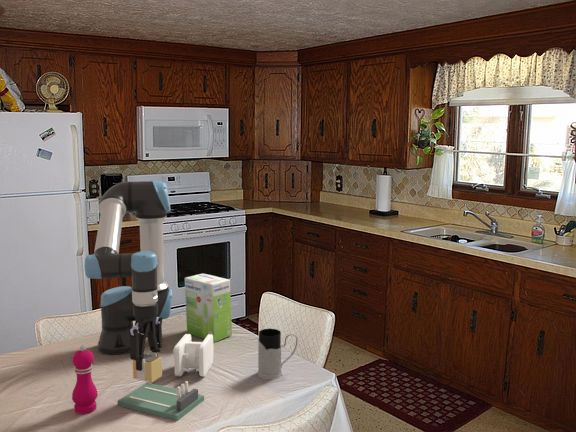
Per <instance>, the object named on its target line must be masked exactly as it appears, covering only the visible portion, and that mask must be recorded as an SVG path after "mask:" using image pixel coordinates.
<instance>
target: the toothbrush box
mask: <svg viewBox="0 0 576 432" xmlns="http://www.w3.org/2000/svg"><path fill="white" fill-rule="evenodd" d="M184 290H185V291H184V293H185V294H184V295H185V311H186V312H185V314H186V315H185V316H186V334H191V336H196V337H197V338H201V339H205V338H206V337H207V335H208V334H212V335H213V343H216V342H218V341H220V340H223V339H226V338H229V337H231V336H233V332H232V331H233V328H232V301H231V297H232V296H231V295H232V294H231V293H232V292H231V279H228V278H224V277H219V276H216V275H212V274H207V273H199V274H195V275H191V276H186V277H184Z"/></svg>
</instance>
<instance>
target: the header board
mask: <svg viewBox="0 0 576 432" xmlns="http://www.w3.org/2000/svg"><path fill="white" fill-rule="evenodd" d="M203 401H205V395H203V394H199V389H197V388H192V389H191V390H190V391H189V381H188V380H186V381H184V383H181V384H180V386H176V388H173V387H169V386H163V385H160V384H155V383H152V382H146V383H144V384H142V385H141V386H139V387H137V388H135V389H134V390H132V391H131V392H130V393H128V394H126V395H124V396H123V397H121V398H120V399H118V400H117V407H118V406H119V407H122V408H128V409H131V410H134V411H138V412H142V413H146V414H150V415H154V416H157V417H161V418H165V419H170V420H174V421H177V422H178V421H179V420H180V419H182V418H183V417H184V416H186V415H187V414H188V413H189V412H191V411H193V409H195V408H196V407H197V406H199V405H200V404H201V403H202V402H203Z"/></svg>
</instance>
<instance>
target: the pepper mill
mask: <svg viewBox="0 0 576 432" xmlns="http://www.w3.org/2000/svg"><path fill="white" fill-rule="evenodd" d="M86 347H87V346H86V345H80V346H79V350H78V351H76V352H75V353H74V354H73V355H72V358H71V360H72V364H73V365H74V373H75V374H76V383H75V385H74V388H73V390H72V394H71V399H72V402H73V403H74V405H73V409H74V413H76V414H78V415H87V414H90V413H92V412H94V411H96V410H97V401H96V400H97V398H98V389H97V387H96V385H95V383H94V382H93V379H92V372H93V371H94V370H93V369H94V368H93V363H94V360H95V358H94V357H95V356H94V353H93V352H92V351H91V350H89V349H86Z"/></svg>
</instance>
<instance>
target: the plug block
mask: <svg viewBox="0 0 576 432" xmlns="http://www.w3.org/2000/svg"><path fill="white" fill-rule="evenodd" d="M143 359H145V369H146V380H145V381H144V382H148V383H153V382H155V381H157V380H158V379H159V378H161V377H163V367H162V365H163V363H162V362H163V361H162V356H161V357H160V356H158V357H157V356H152V355H149V354H146V353H144V357H143ZM132 375H133V379H134V380H135V379H136V380H138V379H137V370H136V360H132Z"/></svg>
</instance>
